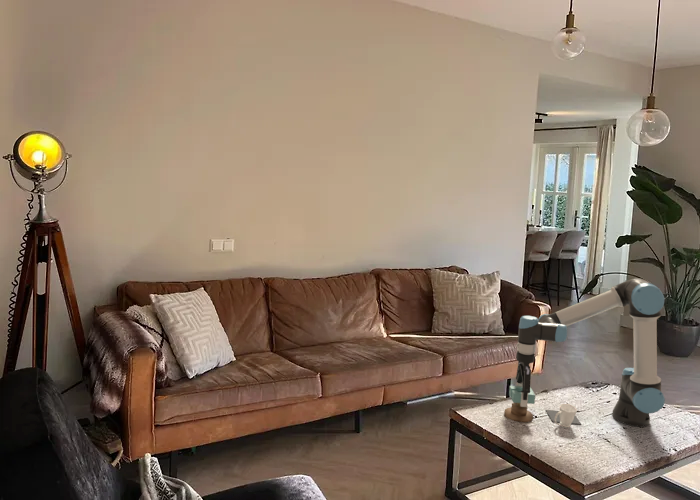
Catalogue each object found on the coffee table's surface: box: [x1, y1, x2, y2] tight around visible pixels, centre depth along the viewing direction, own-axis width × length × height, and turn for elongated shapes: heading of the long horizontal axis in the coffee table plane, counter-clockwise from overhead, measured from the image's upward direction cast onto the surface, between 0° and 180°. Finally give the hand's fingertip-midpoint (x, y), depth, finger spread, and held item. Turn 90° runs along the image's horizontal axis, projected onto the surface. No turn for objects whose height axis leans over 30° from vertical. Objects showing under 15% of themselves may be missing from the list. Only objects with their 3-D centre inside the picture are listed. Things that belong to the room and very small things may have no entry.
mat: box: [545, 409, 582, 426], centre depth 258 cm, size 12×12×1 cm
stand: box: [503, 402, 534, 423], centre depth 256 cm, size 12×12×10 cm
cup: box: [554, 403, 578, 428], centre depth 249 cm, size 7×10×8 cm
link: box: [508, 385, 536, 405], centre depth 255 cm, size 9×9×4 cm
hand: (521, 401), depth 255 cm, fingers closed on link, 9 cm apart
